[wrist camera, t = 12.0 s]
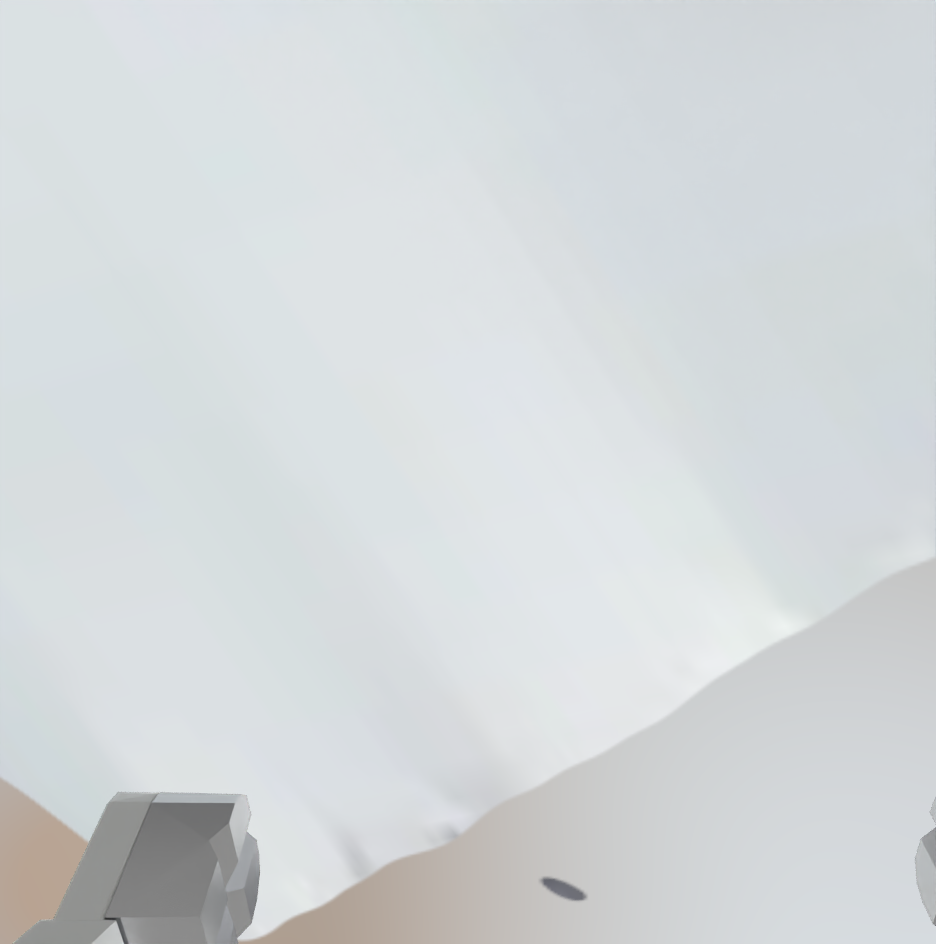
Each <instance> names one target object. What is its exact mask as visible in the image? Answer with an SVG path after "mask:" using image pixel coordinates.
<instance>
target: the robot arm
mask: <svg viewBox="0 0 936 944" xmlns="http://www.w3.org/2000/svg"><path fill="white" fill-rule="evenodd" d="M930 814H931V816H932V818H933V819H934V821H935V823H936V798H935V800H934V803H933V805H932V808H931V811H930ZM250 817H251V811H250V807H249V803H248V799H247V795H242V794H208V793H167V792H160V793H151V792H118V793H117V794H116V795H115V796H114V797H113V798H112V799H111V800H110V801H109V803H108V804H107V805H106V807H105V809H104V811H103V813H102V816H101V818H100V820H99V822H98V824H97V826H96V829H95V831H94V833H93V835H92V837H91V839H90V841H89V844H88V846H87V848H86V850H85V852H84V854H83V856H82V859H81V861H80V863H79V866H78V867H77V869H76V871H75V874H74V876H73V878H72V880H71V882H70V884H69V887H68V889H67V891H66V893H65V895H64V897H63V900H62V902H61V904H60V906H59V908H58V910H57V912H56V914H55V917H54V919H53V920H39V921H38V922H37V923H36V924H35V925H34V926H32V927H31V928H30V929H29V930H28V931H26V932H25V933H24V934H23V935H22V936H21V937H19V938H18V939H17V940H16V941H15V942H13V943H12V944H238V939H237V938H238V937H239V936H240V935H241V934H242V933H243V932H244V930H245V929H246V928H247V927H248V926H249V925H250V924H251V923H252V919H253V915H254V910H255V906H256V902H257V895H258V886H259V876H260V864H259V851H258V846H257V840H256V839H255V838H254V837H252V836H251V835H250V834H249V833H248V832H247V828H248V825H249V821H250ZM915 864H916V879H917V885H918V888H919V892H920V895H921V898H922V902H923V904H924V906H925V908H926V911H927V913H928V915H929V917H930V919H931V921H932V923H933V924H934V925H935V926H936V828H934V829H933V830H932V831H930V832H929V833H928V834H927V835H925V836H924V837H922V838H921V839H920V843H919V846H918V850H917V854H916V857H915Z"/></svg>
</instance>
